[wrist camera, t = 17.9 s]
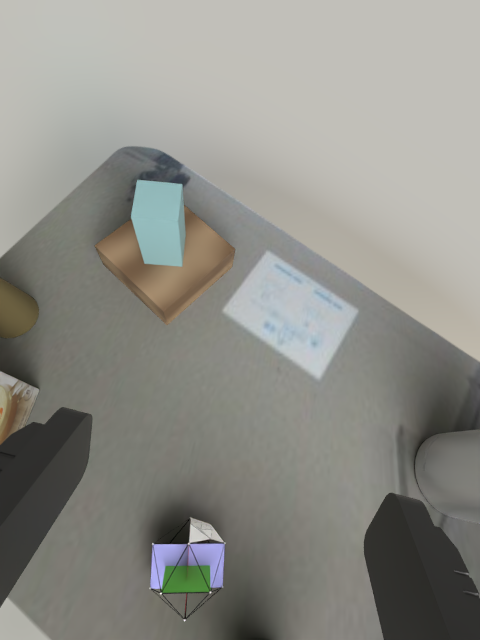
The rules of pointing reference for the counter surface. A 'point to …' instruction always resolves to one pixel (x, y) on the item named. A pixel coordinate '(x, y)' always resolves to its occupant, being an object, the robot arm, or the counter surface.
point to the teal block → (159, 222)
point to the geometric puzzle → (189, 563)
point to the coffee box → (14, 404)
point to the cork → (16, 311)
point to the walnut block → (168, 281)
